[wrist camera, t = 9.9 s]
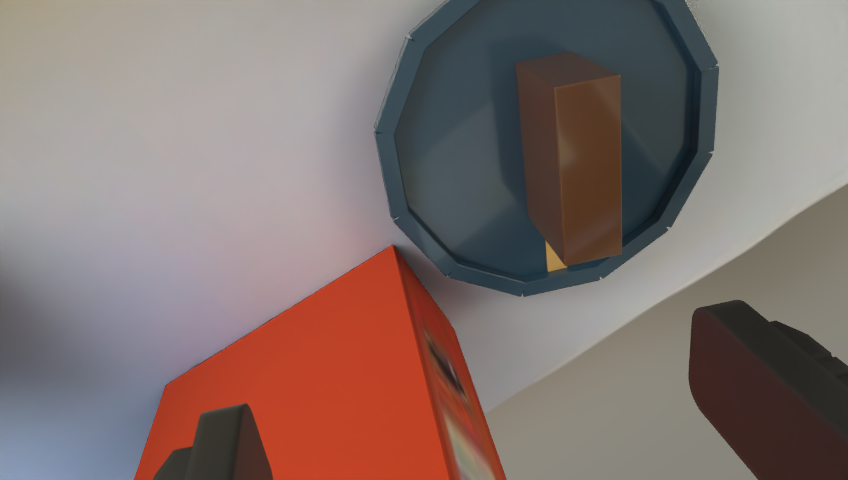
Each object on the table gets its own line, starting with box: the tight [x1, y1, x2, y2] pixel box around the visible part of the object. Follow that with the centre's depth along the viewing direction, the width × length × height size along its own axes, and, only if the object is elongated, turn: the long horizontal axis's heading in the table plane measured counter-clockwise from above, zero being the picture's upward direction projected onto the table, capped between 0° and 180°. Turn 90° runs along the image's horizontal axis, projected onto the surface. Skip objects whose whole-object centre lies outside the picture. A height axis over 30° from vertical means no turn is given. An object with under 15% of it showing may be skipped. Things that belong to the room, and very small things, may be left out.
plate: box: [374, 0, 719, 297], centre depth 32 cm, size 19×19×7 cm
